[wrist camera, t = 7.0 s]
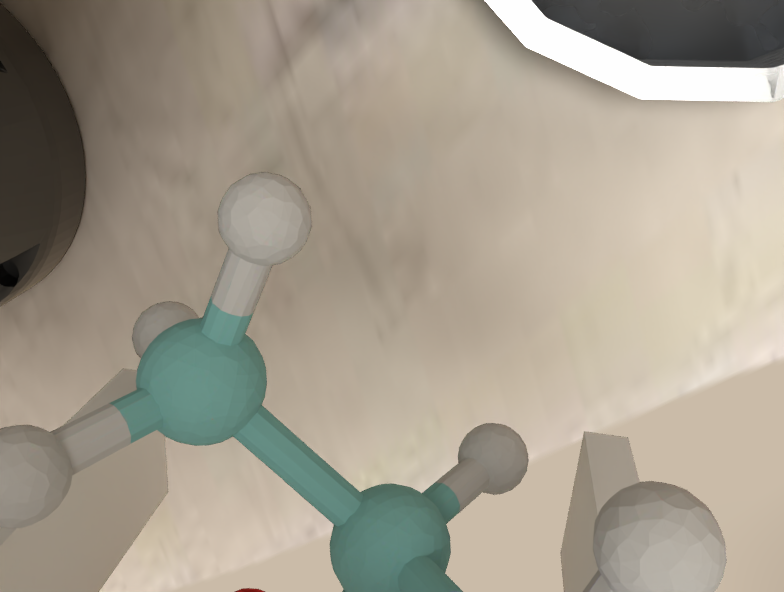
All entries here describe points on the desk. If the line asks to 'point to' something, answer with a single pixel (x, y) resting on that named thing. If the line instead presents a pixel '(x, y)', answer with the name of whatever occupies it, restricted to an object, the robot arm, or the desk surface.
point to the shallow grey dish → (661, 44)
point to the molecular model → (302, 465)
